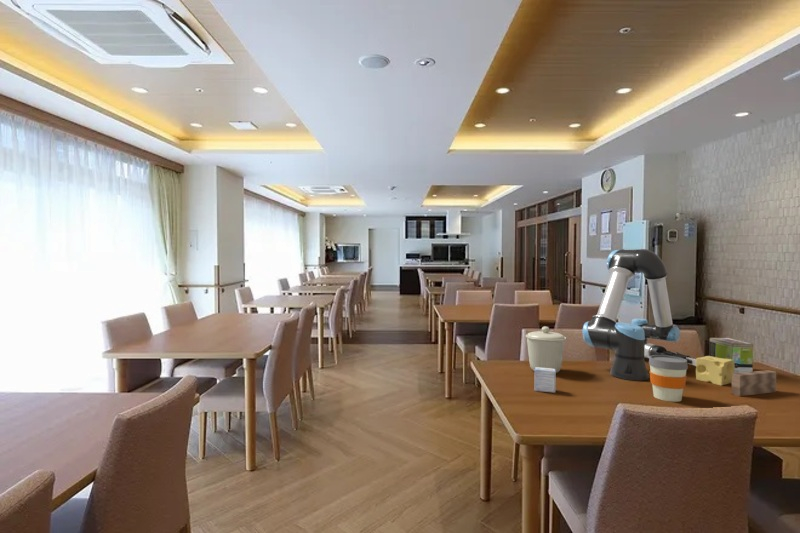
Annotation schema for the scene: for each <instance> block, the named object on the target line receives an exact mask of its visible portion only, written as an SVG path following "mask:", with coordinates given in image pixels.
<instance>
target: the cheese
mask: <svg viewBox="0 0 800 533" xmlns="http://www.w3.org/2000/svg"><path fill="white" fill-rule="evenodd" d="M695 359H696V366H695V380H697V381H701V382H705V383H711V384H714V385H718V386H721V387H722V386H724V385H728V384H732V374H733V373H734V370H735V366H734V360H731V359H723V358H717V357H712V356H709V355H705V356H700V357H696V358H695Z"/></svg>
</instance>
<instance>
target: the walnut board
mask: <svg viewBox="0 0 800 533" xmlns="http://www.w3.org/2000/svg"><path fill="white" fill-rule="evenodd" d="M771 393H777V372H776V371H774V370H773V371H772V370H769V369H768V370H767V369H766V370H765V369H764V370H756V371H753V372H743V373H733V374H732V383H731V395H735V396H738V397H744V396H751V395H752V396H753V395H761V394H771Z"/></svg>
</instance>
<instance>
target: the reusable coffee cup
mask: <svg viewBox="0 0 800 533" xmlns="http://www.w3.org/2000/svg"><path fill="white" fill-rule="evenodd" d="M648 365H649V369H650V370H649V371H648V373H649V379H650V380H649V381H650V383H651V384H652V394H653V397H654V398H655V399H658V400H661V401H664V402H665V401H666V402H673V403H675V402H677V403H678V402H681V401H682V399H683V392H684V389H685V388H686V383H687V376H688V375H687V370H688V368H689V367H688V365H689V364H687V360H686V359H683V358H679V357H674V356H667V355H652V356H650V358H648Z"/></svg>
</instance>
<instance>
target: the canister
mask: <svg viewBox="0 0 800 533" xmlns="http://www.w3.org/2000/svg"><path fill="white" fill-rule="evenodd" d="M525 338H526V344H527V352H528V360H529V366H530V369H531V370H532V371H534V372H535V367H540V368H552V369H555V371H556V374H557V373H559V372H560V371H561V369H562V364H563V357H564V348H565V342H566V340H567V337H566V336H564V335H563V334H562V333H559V332H555V331H550V327H549V326H542V327H541V331H539V330H537V331H531V332H528V333H526V334H525Z"/></svg>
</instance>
